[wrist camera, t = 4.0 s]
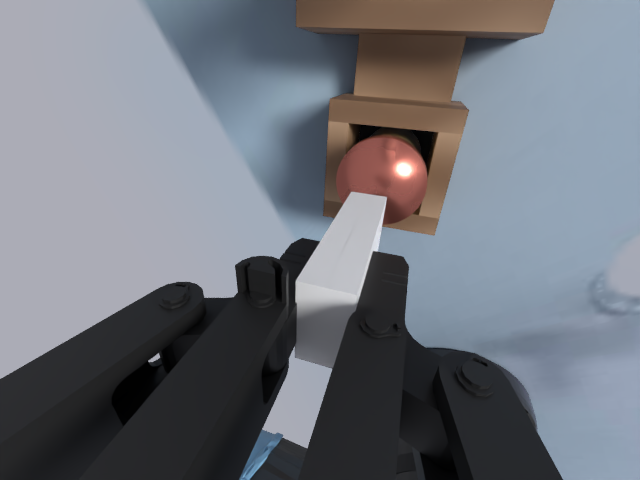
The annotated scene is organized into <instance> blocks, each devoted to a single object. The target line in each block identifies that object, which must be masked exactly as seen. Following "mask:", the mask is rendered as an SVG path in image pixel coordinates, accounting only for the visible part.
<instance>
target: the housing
mask: <svg viewBox="0 0 640 480" xmlns="http://www.w3.org/2000/svg"><path fill="white" fill-rule="evenodd" d="M554 1H555V0H296V27H298V28H302V29H305V30H308V31H311V32H315V33H318V34H350V35H359V42H358V52H357V63H356V74H355V85H354V94H353V93H346V94H343V95H340V96H337V97H333V98H330V103H329V121H328V139H327V157H326V175H325V193H324V211H323V216H327V217H332V218H335V217H336V215H337V214H338V212H339V211H340V209H341V207H342V206H343V203H342V202H341V200H340V198H339V195H338V192H337V186H336V176H337V171H338V167H339V165H340V163H341V161H342V159H343V157H344V156H345V155H346V154H347V152H348V151H349V150H350V149H351V148H352V147H353V146H354V145H356V144H357V143H358V142H359V139H360V129H361V124H362V125H372V126H382V127H392V128H402V129H412V130H422V131H432V132H434V133H433V137H432V142H431V146H430V151H429V155H428V159H427V164H426V168H427V190H426V193H425V197H424V199H423V201H422V203H421V204H420V206H419V207H418V208H417V210H416V211H415V212H414V213H412V214H411V215H410V216H409V217H407V218H406V219H404V220H402V221H399V222H397V223H393V224H387V225H382V226H383V227H389V228H395V229H400V230H406V231H412V232H417V233H423V234H429V235H435V231H436V228H437V224H438V221H439V217H440V213H441V210H442V206H443V202H444V199H445V195H446V192H447V188H448V184H449V181H450V177H451V174H452V170H453V166H454V163H455V159H456V155H457V152H458V148H459V145H460V141H461V137H462V134H463V130H464V126H465V123H466V119H467V116H468V112H469V110H468V109H467V108H466V106H465V105H464V104H463V103H462V102H459V101H451V98H452V94H453V90H454V86H455V82H456V78H457V74H458V69H459V65H460V61H461V57H462V53H463V49H464V45H465V41H466V38H484V39H518V40H521V39H524V38H528V37H531V36H534V35H538V34H541V33H543V32H544V29H545V27H546V24H547V21H548V18H549V15H550V12H551V9H552V7H553V4H554Z"/></svg>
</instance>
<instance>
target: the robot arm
mask: <svg viewBox="0 0 640 480" xmlns="http://www.w3.org/2000/svg"><path fill="white" fill-rule="evenodd" d="M386 200H387V197H384V196H377V195H371V194H364V193H358V192H351V193H350V195H349V196H348V198H347V199H346V201H345V203H344V204H343V206H342V207H341V209H340V211H339V212H338V214H337V215H336V217H335V219H334V220H333V222H332V223H331V225H330V227H329V228H328V230H327V232H326V233H325V235H324V236H323V238H322V240H321V241H315V240H310V239H305V238H301V239H299V240H297V241H296V242H294V243H292V244H291V245H290V246H289V248H288V249H287V250H286V251H285V253H284V254H283V255H282V256H281V257H280V259H277V258H274V257H269V256H256V257H250V258H247V259H245V260H242V261H241V262H239V263H238V264H236V265H235V269H236V277H237V287H238V293H237V294H236V295H235V296H234V297H232V298H204V295H203V290H202V288H201V287H199V286H198V285H197V284H194V283H191V282H176V283H172V284H167V285H165V286H163V287H160V288H159V289H156V290H155V291H153V292H151V293H150V294H148V295H146V296H144V297H143V298H141V299H139V300H137V301H135V302H134V303H132V304H130V305H129V306H127V307H125V308H123V309H122V310H120V311H118V312H116V313H115V314H113V315H111V316H110V317H108V318H106V319H104V320H102V321H101V322H99V323H97V324H96V325H94V326H92V327H90V328H89V329H87V330H85V331H83V332H82V333H80V334H78V335H76V336H75V337H73V338H71V339H69V340H68V341H66V342H64V343H63V344H61V345H59V346H57V347H55V348H54V349H52V350H50V351H49V352H47V353H45V354H43V355H42V356H40V357H38V358H36V359H35V360H33V361H31V362H29V363H28V364H26V365H24V366H23V367H21V368H19V369H17V370H16V371H14V372H12V373H10V374H9V375H7V376H5V377H3V378H2V379H0V480H563V479H562V477H561V475H560V473H559V472H558V470H557V468H556V466H555V464H554V462H553V461H552V459H551V457H550V455H549V453H548V451H547V449H546V448H545V446H544V444H543V442H542V440H541V438H540V437H539V435H538V433H537V422H536V417H535V414H534V410H533V407H532V404H531V401H530V398H529V395H528V393H527V391H526V389H525V388H524V386H523V385H522V384H521V383H520V381H519V380H518V379H517V378H516V377H514V376H513V375H512V374H511V373H510V372H508V371H507V370H505V369H504V368H502V367H501V366H499V365H497V364H495V363H493V362H491V361H489V360H487V359H485V358H483V357H481V356H479V355H477V354H475V353H470V352H466V351H455V350H446V349H427V348H425V347H423V346H422V345H420V344H419V343H418V342H417V341H416V340H415V339H413V338H412V336H411V335H410V334H409V332H408V330H407V328H406V326H405V308H406V296H407V283H408V271H409V266H408V264H407V262H406V261H405V259H404V257H402V256H397V255H392V254H387V253H382V252H378V247H379V241H380V235H381V229H382V223H383V218H384V212H385V206H386ZM294 346H295V358H299V359H302V360H305V361H309V362H313V363H315V364H319V365H322V366H326V367H329V368H332V373H331V376H330V379H329V382H328V385H327V389H326V392H325V395H324V398H323V401H322V404H321V408H320V411H319V414H318V417H317V420H316V424H315V427H314V430H313V433H312V436H311V439H310V442H309V446H308V449H307V448H304V447H302V446H300V445H298V444H295V443H293V442H291V441H289V440H286V439H284V438H282V437H283V435H282V434H280V433H276V434H272V433H270V432H267V431H264V430H262V428H263V426H264V424H265V421H266V419H267V417H268V415H269V413H270V411H271V408H272V406H273V404H274V402H275V400H276V397H277V395H278V393H279V390H280V389H281V386H282V384H283V382H284V380H285V378H286V375H287V372H288V368H289V357H290V354H291V352H292V350H293V348H294ZM158 353H159V355H160V358H159V359H158V360H156V361H154V362H148V360H150V359H151V358H152V357H154V356H155V355H156V354H158Z"/></svg>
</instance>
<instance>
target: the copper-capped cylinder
mask: <svg viewBox="0 0 640 480" xmlns="http://www.w3.org/2000/svg"><path fill="white" fill-rule="evenodd" d="M336 186H337V192H338V195H339V198H340V200H341V202H342V203H343V204H344V203H345V201H346V199H347V198H348V196H349V195H350V193H351V192H358V193H364V194H371V195H377V196H384V197H387V200H386V206H385V212H384V218H383V223H382V225H387V224H393V223H397V222H399V221H402V220H404V219H406V218H407V217H409V216H410V215H411V214H412V213H414V212H415V211H416V210H417V208H418V207H419V206H420V204H421V203H422V201H423V199H424V197H425V193H426V190H427V168H426V165H425V162H424V160H423V157H422V156H421V146H420V143H419V140H418V138H417V137H416V135H415V134H414V133H413V132H412V131H410V130H409V129H402V128H392V127H382V128H380V129H378V130H377V131H375V132H374V133H373V134H372V135H371V136H370V137H368V138H366V139H363V140H362V141H360V142H358V143H357V144H356V145H354V146H353V147H352V148H351V149H350V150H349V151H348V152H347V154H346V155H345V156H344V157H343V159H342V161H341V163H340V165H339V167H338V171H337V176H336Z"/></svg>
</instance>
